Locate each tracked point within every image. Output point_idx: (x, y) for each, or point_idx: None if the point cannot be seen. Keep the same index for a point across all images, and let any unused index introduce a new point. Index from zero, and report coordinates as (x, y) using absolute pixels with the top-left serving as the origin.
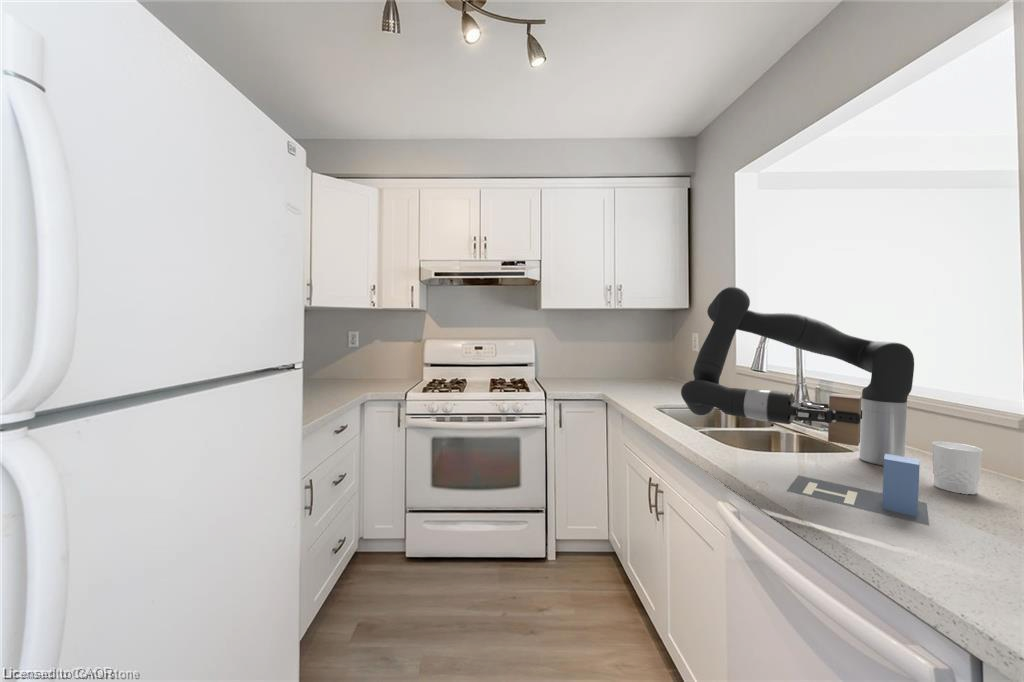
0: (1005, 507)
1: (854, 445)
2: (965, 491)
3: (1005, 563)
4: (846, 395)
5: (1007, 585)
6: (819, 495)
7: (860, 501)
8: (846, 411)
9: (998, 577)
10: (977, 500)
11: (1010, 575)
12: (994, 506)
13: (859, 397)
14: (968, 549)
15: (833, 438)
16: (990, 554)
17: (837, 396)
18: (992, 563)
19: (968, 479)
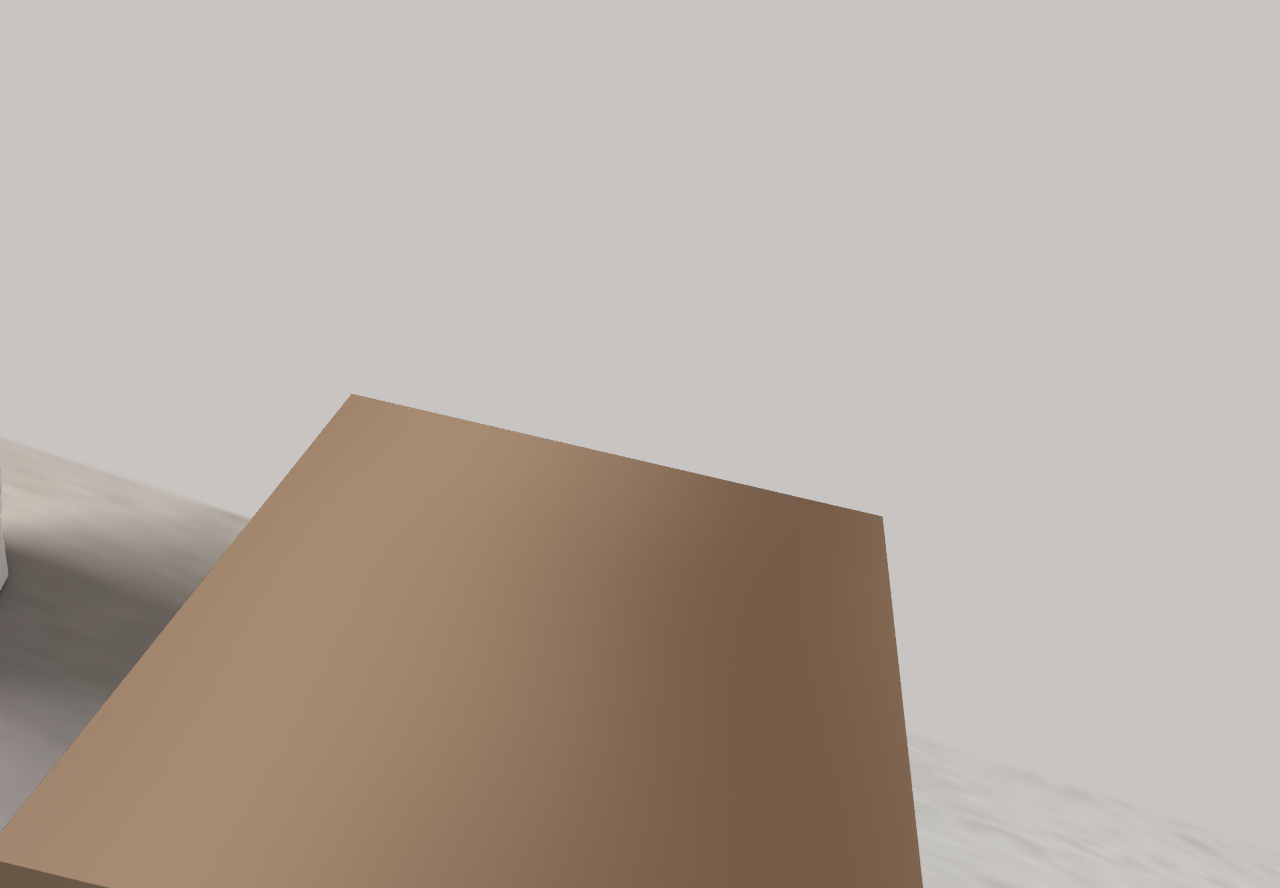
0: (190, 523)
1: None
2: (5, 569)
3: (1011, 786)
4: (444, 600)
5: (1256, 860)
6: None
7: None
8: None
9: (1204, 862)
10: (108, 575)
11: (1134, 815)
12: (192, 552)
13: (673, 477)
14: (970, 862)
15: None
16: (952, 800)
17: (902, 853)
18: (1061, 829)
19: (2, 499)
